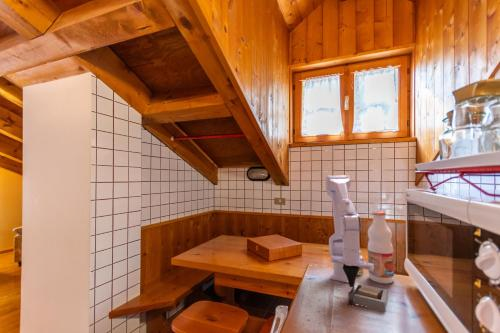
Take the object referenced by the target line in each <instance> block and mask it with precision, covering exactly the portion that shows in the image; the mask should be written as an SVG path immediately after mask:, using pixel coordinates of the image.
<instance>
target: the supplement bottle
mask: <svg viewBox="0 0 500 333" xmlns="http://www.w3.org/2000/svg"><path fill="white" fill-rule="evenodd" d="M361 253H362V251H361V250H360V260H362V261H364V259H363V256H362V255H361ZM362 275H364V268H360V269H359V271H358V273H357V276H362Z"/></svg>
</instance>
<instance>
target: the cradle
mask: <svg viewBox="0 0 500 333" xmlns="http://www.w3.org/2000/svg"><path fill="white" fill-rule="evenodd" d="M363 285H364V286H367V287H371V288H375V289H379V290H381V300H379V299H375V298H371V297H366V296H362V295H358V294H354V302H353V305H355V304H359V305H363V306H367V307H369V308H368V309H371V308H372V309H371V310H375V311H379V312H383V313H386V311H387V310H386V308H387V304H388V299H389V298H388V296H389V295H388V289H385V288H379V287H378V286H377V287H376V286H373V285H372V286H371V285H367V284H361V283H359V289H360V288H361V287H362V286H363ZM359 305H358V306H359ZM363 306H362V307H363ZM367 307H366V308H367Z"/></svg>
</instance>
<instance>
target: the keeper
mask: <svg viewBox="0 0 500 333" xmlns="http://www.w3.org/2000/svg"><path fill="white" fill-rule="evenodd" d="M359 284H360V282H356V281H355V284H354V287H351V290H350V291H348V296H347V298H348V299H347V300H348V306H349V305H351V306H350V307H353V306H354V294H358V290H359ZM352 305H353V306H352Z"/></svg>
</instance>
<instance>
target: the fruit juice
mask: <svg viewBox="0 0 500 333" xmlns="http://www.w3.org/2000/svg"><path fill="white" fill-rule="evenodd" d="M386 214H387V213H386V212H385V211H374V210H373V211H372V217H373V220H372V223H371V225H370V226H369V228H368V229H367V237H368V242H367V258H368V259H367V260H368V263H372V264H374V270H373V271H370V270H368V278H369V279H370V280H371V281H373V282H376V283H379V284H393V283H394V281H395V273H394V272H395V270H394V267H395V266H394V265H395V264H394V247H393V246H394V245H393V243H392V238H393V233H392V230H391V229H390V227H389V226H388V224H387V220H386Z"/></svg>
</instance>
